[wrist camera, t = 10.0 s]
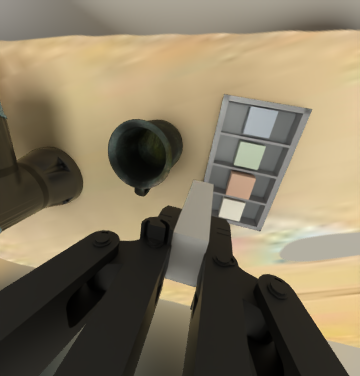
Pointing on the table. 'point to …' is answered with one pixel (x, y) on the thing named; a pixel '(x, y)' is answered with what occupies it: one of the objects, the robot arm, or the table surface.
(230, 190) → the block
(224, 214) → the key ivory
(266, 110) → the key slate
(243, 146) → the key sage
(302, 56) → the table surface
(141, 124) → the mug
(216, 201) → the grey compartment rack
